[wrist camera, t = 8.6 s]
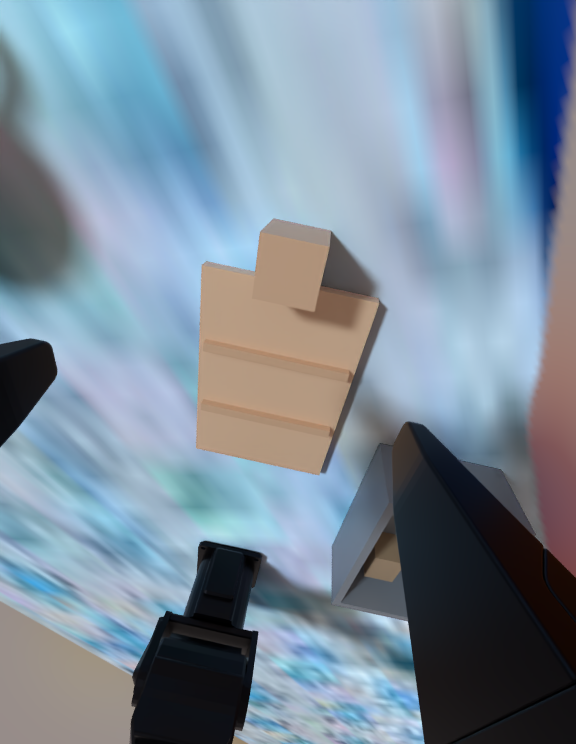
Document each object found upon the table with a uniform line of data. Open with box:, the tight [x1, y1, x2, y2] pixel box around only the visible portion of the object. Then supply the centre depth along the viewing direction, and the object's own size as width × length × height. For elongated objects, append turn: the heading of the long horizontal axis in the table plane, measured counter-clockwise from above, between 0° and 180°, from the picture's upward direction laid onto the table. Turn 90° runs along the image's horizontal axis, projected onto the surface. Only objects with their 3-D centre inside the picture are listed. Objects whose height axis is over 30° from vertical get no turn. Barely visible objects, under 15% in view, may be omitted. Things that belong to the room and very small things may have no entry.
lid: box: [196, 219, 379, 475], centre depth 20 cm, size 17×10×4 cm, turn 169°
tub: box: [331, 443, 536, 621], centre depth 26 cm, size 14×9×5 cm, turn 169°
